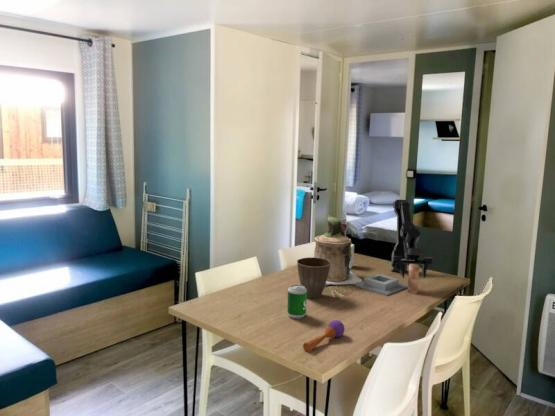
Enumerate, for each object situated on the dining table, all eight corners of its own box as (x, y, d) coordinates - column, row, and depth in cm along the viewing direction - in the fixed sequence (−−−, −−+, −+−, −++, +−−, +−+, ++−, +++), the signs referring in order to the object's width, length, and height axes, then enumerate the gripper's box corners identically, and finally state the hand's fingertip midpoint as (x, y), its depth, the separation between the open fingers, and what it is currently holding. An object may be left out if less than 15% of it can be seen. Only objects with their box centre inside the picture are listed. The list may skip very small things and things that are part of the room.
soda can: (300, 321, 176) (301, 291, 175) (283, 316, 180) (284, 287, 179) (309, 314, 183) (310, 286, 181) (293, 310, 187) (293, 282, 185)
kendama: (298, 338, 153) (332, 317, 167) (301, 354, 153) (335, 332, 168) (312, 340, 149) (346, 318, 163) (315, 357, 149) (348, 334, 164)
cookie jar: (316, 287, 218) (318, 221, 213) (301, 272, 241) (303, 212, 236) (364, 284, 223) (367, 220, 219) (345, 269, 247) (347, 211, 242)
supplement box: (337, 267, 251) (338, 245, 249) (340, 264, 258) (341, 242, 256) (350, 269, 248) (351, 246, 246) (353, 265, 255) (354, 243, 253)
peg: (405, 291, 213) (407, 265, 211) (410, 289, 216) (412, 263, 214) (414, 294, 210) (416, 267, 208) (419, 292, 213) (421, 265, 211)
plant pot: (335, 296, 205) (337, 262, 202) (315, 304, 194) (316, 268, 192) (310, 288, 215) (311, 255, 213) (289, 296, 204) (290, 261, 202)
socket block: (354, 286, 220) (355, 278, 219) (375, 278, 232) (376, 271, 231) (386, 295, 207) (387, 287, 206) (407, 287, 219) (407, 279, 219)
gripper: (393, 239, 214) (396, 268, 205) (434, 241, 213) (438, 270, 204) (390, 251, 223) (392, 280, 214) (428, 253, 222) (432, 282, 213)
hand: (413, 278), depth 211 cm, fingers open, 9 cm apart
